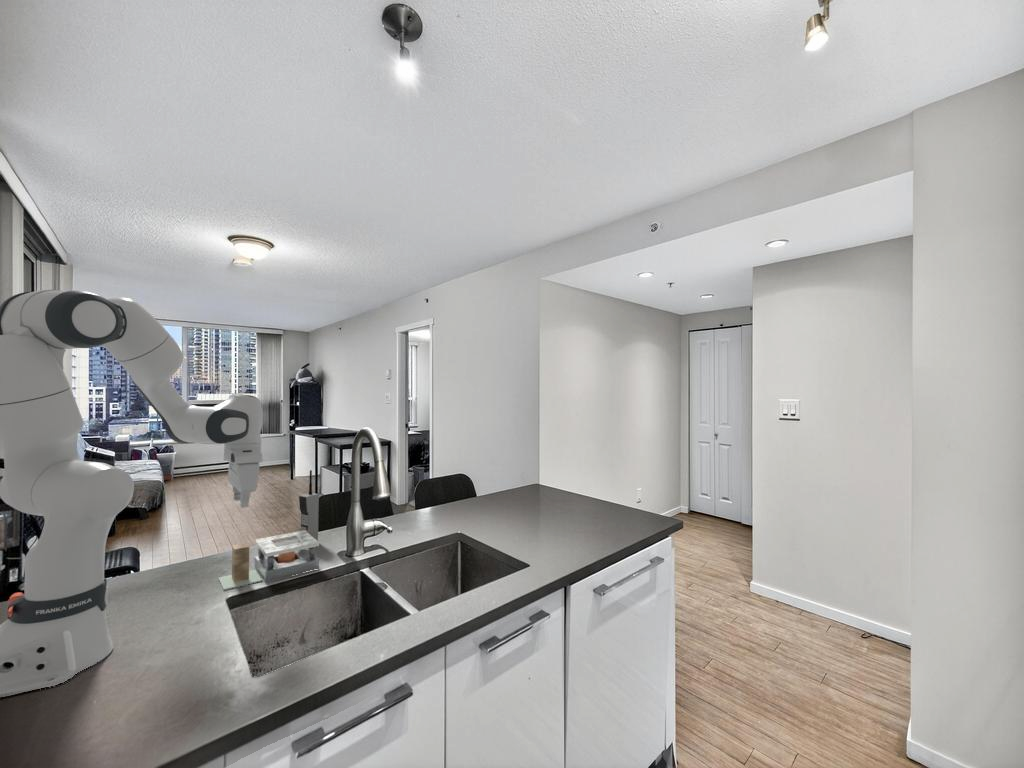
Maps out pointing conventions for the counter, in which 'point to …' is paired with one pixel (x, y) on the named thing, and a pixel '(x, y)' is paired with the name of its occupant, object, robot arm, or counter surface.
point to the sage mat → (229, 584)
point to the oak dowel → (240, 562)
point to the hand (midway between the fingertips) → (240, 503)
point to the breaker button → (286, 557)
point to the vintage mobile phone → (309, 511)
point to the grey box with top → (269, 552)
